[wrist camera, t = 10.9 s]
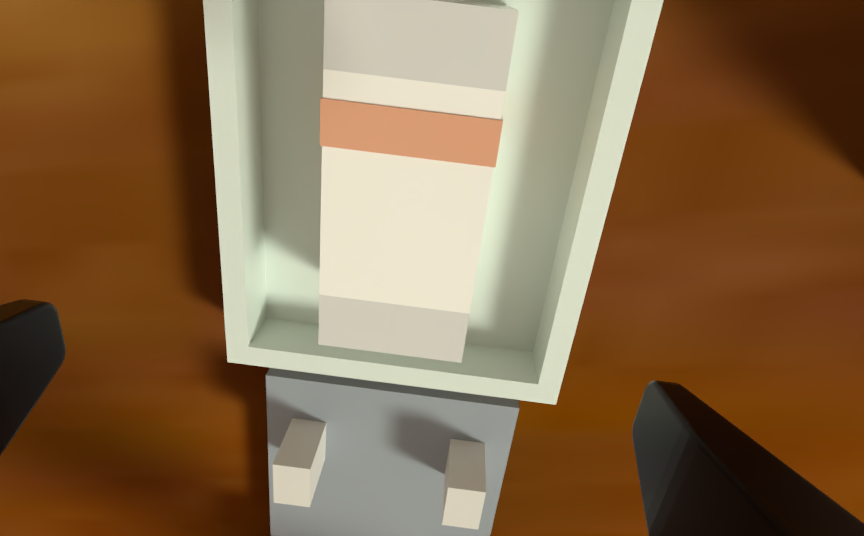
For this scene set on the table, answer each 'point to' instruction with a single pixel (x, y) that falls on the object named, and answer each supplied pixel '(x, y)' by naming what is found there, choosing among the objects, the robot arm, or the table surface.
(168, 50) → the table surface
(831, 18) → the table surface
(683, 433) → the robot arm
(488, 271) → the tray
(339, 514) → the holder
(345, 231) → the fuse
